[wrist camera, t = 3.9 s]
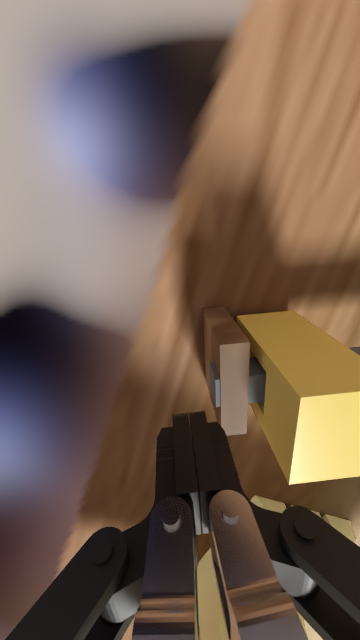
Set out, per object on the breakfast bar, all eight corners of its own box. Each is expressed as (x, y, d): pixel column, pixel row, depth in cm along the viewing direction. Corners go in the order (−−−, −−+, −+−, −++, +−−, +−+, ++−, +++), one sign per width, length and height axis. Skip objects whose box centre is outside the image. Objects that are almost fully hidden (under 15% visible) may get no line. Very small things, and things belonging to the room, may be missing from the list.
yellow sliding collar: (293, 310, 17) (405, 386, 9) (287, 368, 19) (376, 474, 11) (236, 315, 17) (301, 397, 9) (235, 374, 19) (289, 484, 11)
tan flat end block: (224, 306, 17) (249, 342, 12) (224, 377, 19) (246, 433, 14) (202, 308, 17) (220, 345, 12) (205, 379, 19) (221, 436, 14)
